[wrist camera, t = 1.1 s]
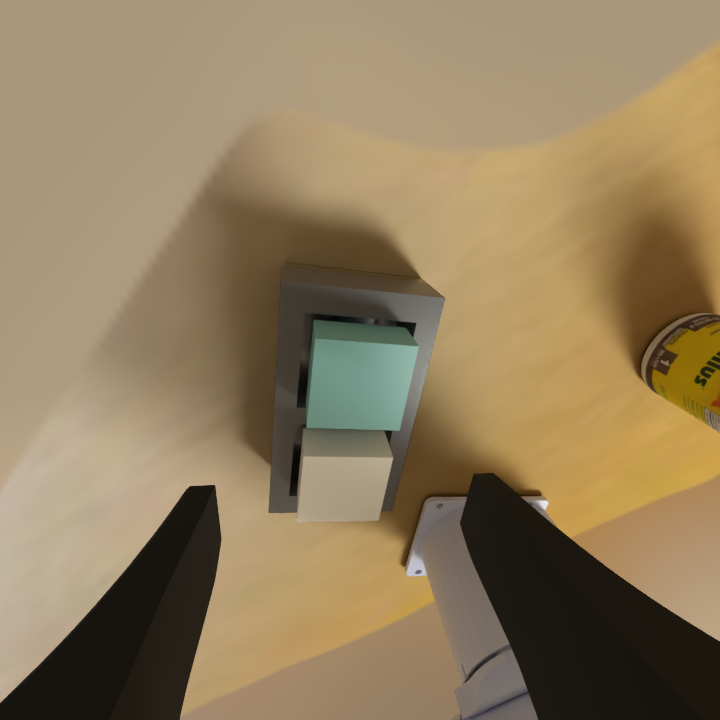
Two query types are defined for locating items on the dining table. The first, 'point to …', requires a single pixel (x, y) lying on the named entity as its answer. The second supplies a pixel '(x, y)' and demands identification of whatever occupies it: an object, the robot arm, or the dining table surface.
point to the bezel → (299, 296)
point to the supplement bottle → (687, 366)
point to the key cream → (342, 475)
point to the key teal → (359, 376)
